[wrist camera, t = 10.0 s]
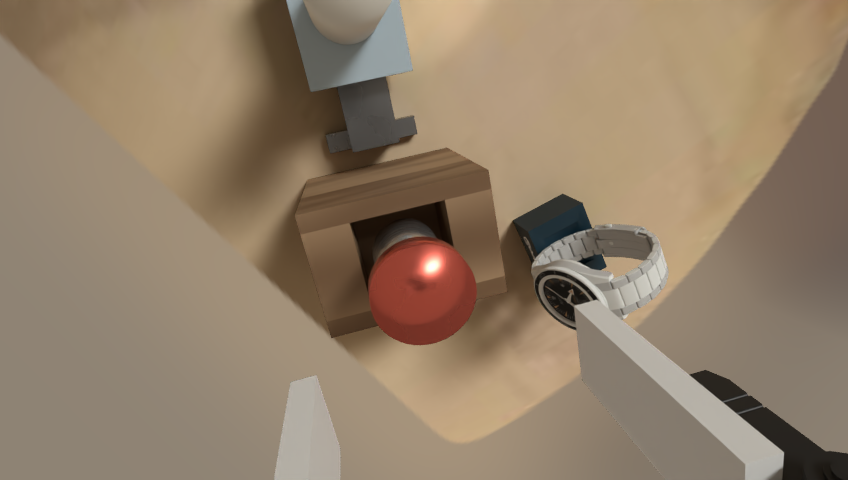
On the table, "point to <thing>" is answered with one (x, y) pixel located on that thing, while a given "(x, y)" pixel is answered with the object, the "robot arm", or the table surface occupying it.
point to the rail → (368, 118)
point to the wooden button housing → (383, 203)
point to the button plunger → (419, 284)
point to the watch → (588, 260)
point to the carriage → (349, 40)
